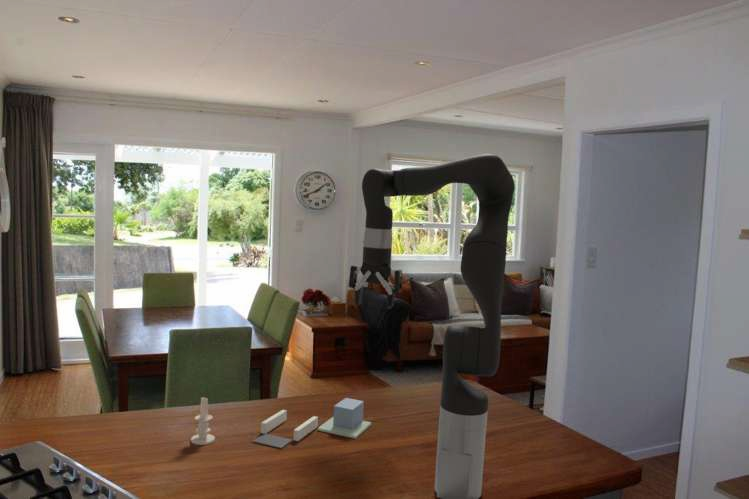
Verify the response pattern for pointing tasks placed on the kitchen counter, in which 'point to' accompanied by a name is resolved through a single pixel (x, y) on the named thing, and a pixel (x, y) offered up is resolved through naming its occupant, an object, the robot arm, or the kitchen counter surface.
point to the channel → (280, 441)
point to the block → (348, 413)
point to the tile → (344, 429)
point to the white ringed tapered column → (203, 425)
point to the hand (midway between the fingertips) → (373, 306)
